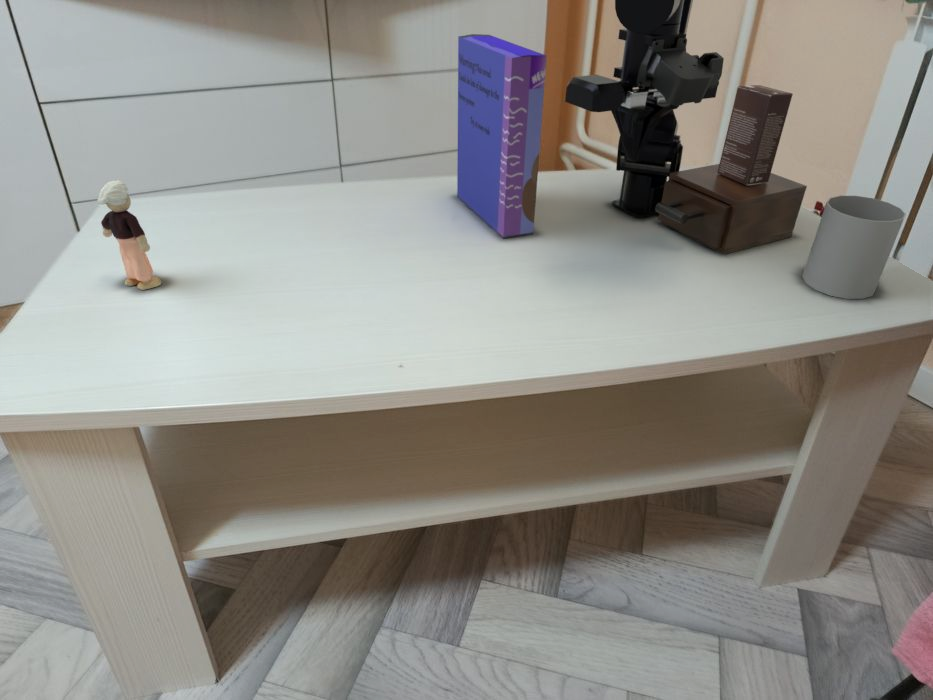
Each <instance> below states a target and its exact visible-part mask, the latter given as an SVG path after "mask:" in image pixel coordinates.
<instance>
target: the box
mask: <svg viewBox="0 0 933 700" xmlns="http://www.w3.org/2000/svg"><path fill="white" fill-rule="evenodd" d="M793 95H794V94H793V93H792V92H788V91H783V90H779V89H775V88H772V87H768V86H764V85H760V84H752V85H739V86H737V88H736V93H735V97H734V101H733V104H732V110H731V113H730V118H729V123H728V126H727V131H726V135H725V138H724V143H723V147H722V152H721V156H720V159H719V163H718V164H719V168H718V172H717V173H718V174H721V175H724V176H726V177H728V178H731V179H733V180H736V181H738V182H740V183H742V184H745V185H746V186H752V185H757V184H762V183H766V182H768V181H769V177H770V174H771V173H772V170H773V165H774V162H775V159H776V155H777V151H778V148H779V145H780V141H781V139H782V138H781V137H782V134H783V130H784V127H785V123H786V119H787V116H788V113H789V109H790V106H791V101H792V98H793Z"/></svg>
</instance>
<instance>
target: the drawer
mask: <svg viewBox="0 0 933 700" xmlns="http://www.w3.org/2000/svg"><path fill="white" fill-rule="evenodd" d="M655 210H656V211H657V212H659V214H658V218H657V219H658V220H659V221H660V222H661V221H662V222H664V223H666V224H668V225H670V226H672V227H674V228H676V229H678V230H680V231H682V232H684V233H686V234H688V235H690V236H692V237H694V238H696V239H698V240H700V241H702V242H704V243H706V244H708V245H710V246H712V247H714V248H719V247H722V243H723V239H724V235H725V231H726V227H727V223H728V219H729V215H730V211H731V205H730V204H727V203H725V202H723V201H721V200H718V199H716V198H714V197H711V196H709V195H707V194H704V193H702V192H700V191H698V190H695V189H693V188H691V187H688V186H686V185H684V184H679V183H676V182H674V181H672V180H670V181H668V180H667V181H665V185H664V191H663V196H662V202H659V203H658V204H657V205H656V207H655Z"/></svg>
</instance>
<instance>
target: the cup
mask: <svg viewBox="0 0 933 700" xmlns="http://www.w3.org/2000/svg"><path fill="white" fill-rule="evenodd" d="M905 217H906V212H905V211H904V210H903V209H902V208H901V207H899V206H898V205H897V206H896V205H894V204H893V203H890V202H888V201H884V200H881V199H876V198H873V197H868V196H867V197H866V196H860V195H837V196H831V197H829V198H828V200H827V201H826V203H825V205H824V208H823V212H822V215H821V218H820V221H819V224H818V226H817V231H816V233H815V236H814V239H813V242H812V245H811V248H810V252H809V254H808V256H807V259H806V263H805V266H804V269H803V271H802V275H801V277H802V280H803V281H804V283H805V284H806V285H807V286H809V287H810V288H812V289H813V290H815V291H817V292H820V293H823V294H825V295H827V296H831V297H835V298H839V299H845V300H846V299H847V300H864V299H866V298H870V297H872V296H873V295H874V294H875V291H876V290H877V287H878V284H879V282H880V279H881V277H882V274H883V272H884V269H885V268H886V264H887V263H888V260H889V257H890V255H891V252H892V249H893V247H894V244H895V242H896V240H897V237H898V235H899V233H900V230H901V227H902V225H903V222H904V220H905Z"/></svg>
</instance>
